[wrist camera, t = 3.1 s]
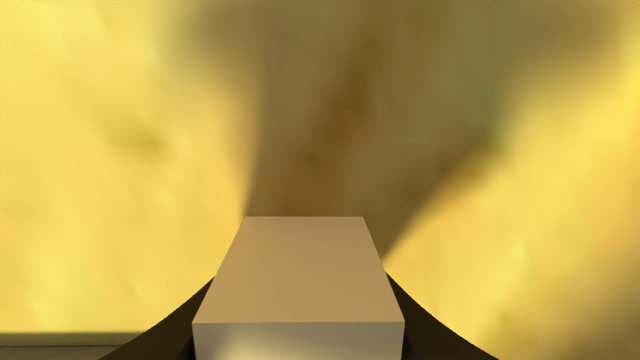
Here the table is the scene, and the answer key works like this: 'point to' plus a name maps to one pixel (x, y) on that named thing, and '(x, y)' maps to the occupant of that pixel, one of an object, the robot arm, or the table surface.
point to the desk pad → (55, 353)
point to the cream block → (300, 295)
